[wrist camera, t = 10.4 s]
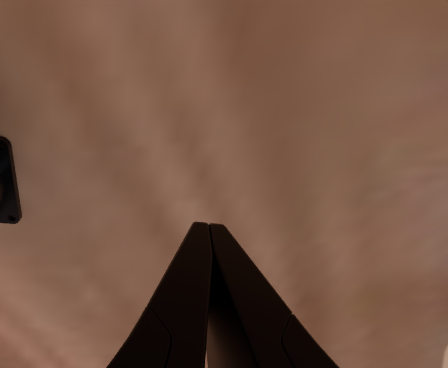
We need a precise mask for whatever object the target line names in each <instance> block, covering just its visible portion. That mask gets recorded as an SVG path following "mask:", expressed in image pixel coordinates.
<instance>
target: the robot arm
mask: <svg viewBox="0 0 448 368" xmlns="http://www.w3.org/2000/svg"><path fill="white" fill-rule="evenodd" d="M0 144H2V145H3V146H4V148H2V147H0V223H9V224H16V223H18V222H19V221H20V219H21V218H22V213H21V206H20V199H19V193H18V186H17V179H16V173H15V166H14V159H13V153H12V146H11V143H10V141H9V140H8V139H6V138H5V137H1V136H0ZM11 215H12V216H14V217H12V216H11ZM206 352H207V362H208V368H339V367H338V366H337V364H336V363H335V362H334V361H333V360H332V359H331V358H330V357H329V356H328V355H327V353H326V352H325V351H324V350H323V349H322V348H321V347H320V346H319V345H318V343H317V342H316V341H315V340H314V339H313V337H312V336H311V335H310V334H309V333H308V331H307V330H306V329H305V328H304V326H303V325H302V324H301V323H300V321H299V320H298V319H297V318H296V316H295V315H294V314H292V311H291V310H290V309H289V307H288V306H287V305H286V304H285V302H284V301H283V300H282V298H281V297H280V296H279V295H278V293H277V292H276V291H275V289H274V288H273V287H272V286H271V284H270V283H269V282H268V281H267V279H266V278H265V277H264V275H263V274H262V273H261V272H260V270H259V269H258V268H257V266H256V265H255V264H254V263H253V261H252V260H251V259H250V257H249V256H248V255H247V254H246V252H245V251H244V250H243V248H242V247H241V246H240V245H239V243H238V242H237V241H236V239H235V238H234V237H233V236H232V234H231V233H230V232H229V231H228V229H227V228H226V227H225V226H224V225H223V224H215V223H210V224H209V225H208V223H205V222H193V224H192V225H191V227H190V229H189V231H188V233H187V234H186V236H185V238H184V240H183V242H182V243H181V245H180V247H179V249H178V251H177V252H176V254H175V256H174V258H173V260H172V261H171V263H170V265H169V267H168V269H167V270H166V272H165V274H164V276H163V278H162V279H161V281H160V283H159V285H158V287H157V288H156V290H155V292H154V294H153V296H152V297H151V299H150V301H149V303H148V305H147V307H146V308H145V310H144V311H143V313H142V315H141V317H140V318H139V320H138V322H137V323H136V325H135V327H134V328H133V330H132V332H131V333H130V335H129V337H128V338H127V340H126V341H125V342H124V344H123V345H122V347H121V348H120V350H119V351H118V352H117V354H116V355H115V357H114V358H113V359H112V361H111V362H110V363H109V365H108V366H107V367H106V368H205V356H206Z"/></svg>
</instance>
